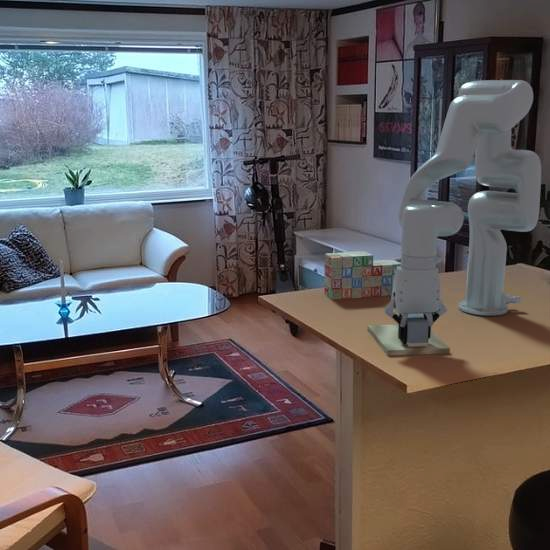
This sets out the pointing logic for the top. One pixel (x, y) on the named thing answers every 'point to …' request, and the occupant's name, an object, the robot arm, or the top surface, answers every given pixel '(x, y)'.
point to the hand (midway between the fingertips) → (413, 340)
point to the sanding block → (417, 330)
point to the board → (394, 346)
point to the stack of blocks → (358, 275)
